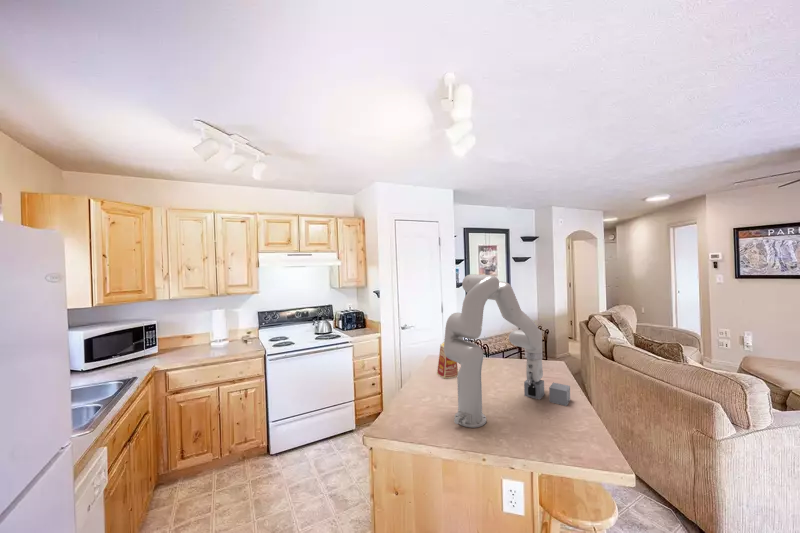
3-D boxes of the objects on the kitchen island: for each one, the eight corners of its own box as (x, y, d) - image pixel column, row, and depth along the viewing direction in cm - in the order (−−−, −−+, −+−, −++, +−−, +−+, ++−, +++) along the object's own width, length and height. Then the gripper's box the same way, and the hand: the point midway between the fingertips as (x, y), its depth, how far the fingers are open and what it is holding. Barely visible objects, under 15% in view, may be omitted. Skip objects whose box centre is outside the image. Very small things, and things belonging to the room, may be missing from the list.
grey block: (566, 406, 138) (566, 391, 138) (549, 401, 143) (549, 387, 143) (570, 400, 144) (570, 385, 144) (553, 396, 148) (553, 382, 148)
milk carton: (436, 374, 181) (435, 339, 180) (450, 371, 184) (449, 337, 184) (445, 379, 172) (444, 343, 172) (459, 376, 176) (458, 340, 176)
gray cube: (540, 399, 145) (539, 385, 145) (524, 395, 150) (524, 382, 150) (544, 394, 151) (544, 380, 151) (529, 390, 155) (528, 377, 155)
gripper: (536, 361, 141) (537, 401, 141) (547, 351, 154) (547, 388, 155) (519, 358, 145) (520, 397, 146) (531, 349, 159) (531, 384, 159)
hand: (534, 392), depth 150 cm, fingers closed on gray cube, 7 cm apart
